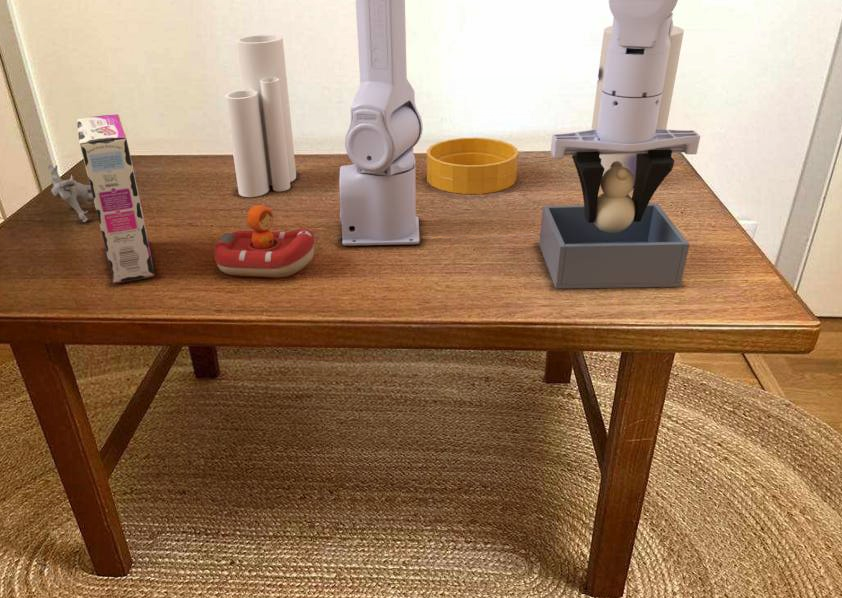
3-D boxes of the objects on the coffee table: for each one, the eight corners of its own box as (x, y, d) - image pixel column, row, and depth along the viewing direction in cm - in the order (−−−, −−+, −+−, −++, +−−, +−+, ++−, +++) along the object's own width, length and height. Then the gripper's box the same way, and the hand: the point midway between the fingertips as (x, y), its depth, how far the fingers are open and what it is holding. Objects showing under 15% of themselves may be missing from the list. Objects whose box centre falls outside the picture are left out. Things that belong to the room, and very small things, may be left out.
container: (593, 161, 112) (611, 20, 101) (661, 168, 108) (688, 23, 97) (579, 182, 105) (597, 33, 94) (652, 190, 101) (679, 36, 90)
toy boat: (308, 283, 81) (302, 220, 77) (209, 280, 83) (198, 218, 79) (322, 254, 88) (317, 194, 84) (230, 251, 89) (221, 192, 85)
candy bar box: (158, 277, 84) (127, 136, 75) (113, 285, 83) (77, 143, 74) (147, 240, 93) (119, 111, 84) (107, 247, 92) (74, 117, 83)
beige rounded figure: (593, 240, 78) (602, 173, 74) (584, 223, 82) (593, 158, 78) (637, 239, 78) (648, 171, 74) (626, 222, 82) (636, 157, 78)
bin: (555, 288, 78) (560, 246, 75) (539, 244, 88) (542, 205, 85) (680, 286, 77) (689, 244, 75) (650, 242, 87) (657, 203, 84)
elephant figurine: (133, 207, 104) (83, 207, 96) (111, 234, 106) (60, 236, 98) (96, 153, 105) (44, 149, 97) (75, 181, 108) (23, 179, 100)
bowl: (428, 198, 102) (428, 167, 99) (425, 167, 113) (425, 138, 110) (521, 196, 101) (524, 165, 98) (510, 165, 112) (511, 136, 109)
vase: (261, 170, 115) (244, 34, 104) (304, 172, 113) (292, 34, 102) (233, 196, 105) (211, 50, 95) (279, 198, 104) (263, 50, 93)
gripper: (692, 79, 75) (668, 203, 82) (551, 83, 76) (539, 206, 83) (717, 96, 69) (689, 228, 76) (563, 101, 70) (550, 231, 77)
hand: (612, 218), depth 79 cm, fingers closed on beige rounded figure, 4 cm apart
